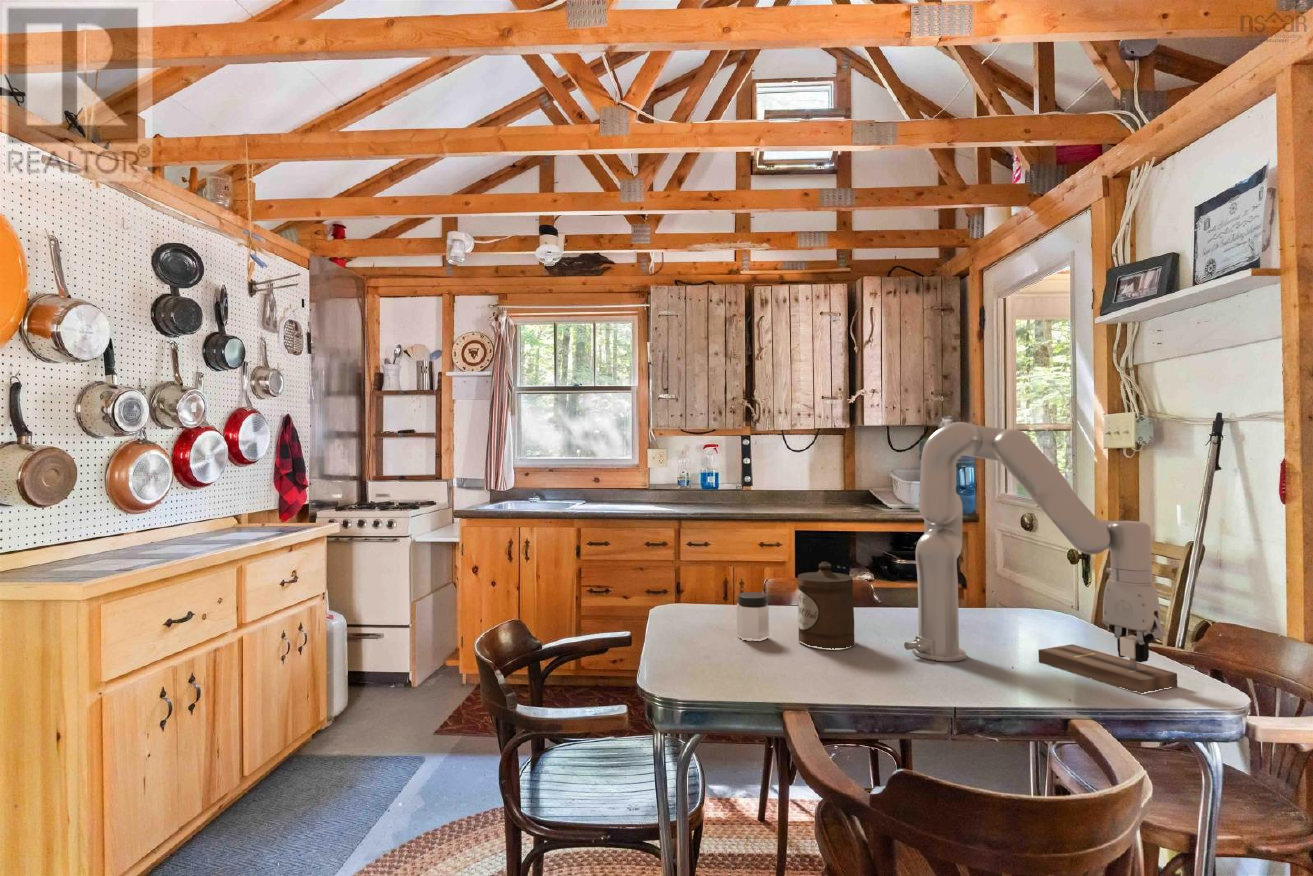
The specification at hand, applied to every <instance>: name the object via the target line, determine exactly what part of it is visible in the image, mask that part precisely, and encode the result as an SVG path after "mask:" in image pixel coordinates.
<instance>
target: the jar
mask: <svg viewBox="0 0 1313 876" xmlns="http://www.w3.org/2000/svg"><path fill="white" fill-rule="evenodd" d="M769 614H770V613H769V605H768V595H767V594H766V593H762V592H755V591H754V592H753V591H752V592H751V591H750V592H747V591H746V592H741V593H738V595H737V603H736V635H737V634H738V635H739V636H741V637H742V638H752V639H761V638H764V637H767V636H769V637H770V631H769V629H770V627H769V626H770V625H769V624H770V623H769V619H770V617H769Z"/></svg>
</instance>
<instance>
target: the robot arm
mask: <svg viewBox="0 0 1313 876" xmlns="http://www.w3.org/2000/svg"><path fill="white" fill-rule="evenodd" d="M961 456H962V457H963V456H964V457H971V458H978V459H982V460H983V459H985V460H989V461H997V462H1000V464H1001V465H1002V466H1003V467H1004V468H1005V469H1006V470H1007V471H1008V472H1009V473H1010V474H1011V476H1012V477H1013V478H1014V479H1015V480H1016V482H1018V483H1019V485H1020V486H1021V487H1022V489H1023V490H1024V491H1025V492H1026V493H1027V495H1029V497H1030V498H1031V499H1032V500H1033V502H1034V503H1035V504H1036V505H1037V506H1038V507H1039V508H1040V509H1041V510H1042V511H1043V512H1044V513H1045V514H1046V516H1047V518H1049V519H1050V521H1051V522H1052V523H1053V524H1054V525H1055V526H1056V527H1057V529H1058V530H1059V531H1060V532H1061V533H1062V534H1063V535H1064V537H1065V538H1066V539H1067V540H1068V542H1069V543H1070V544H1071V545H1072V546H1073V547H1074V548H1075V549H1076V550H1077V551H1079V552H1081V553H1083V554H1085V555H1092V556H1093V555H1099V554H1101V553H1104V552H1106V551H1107V550H1109V552H1110V554H1109V557H1110V566H1109V567H1106V569H1105V572H1106V574H1109V575H1110V579H1107V580H1106V583H1105V588H1104V591H1103V592H1104V593H1103V600H1102V602H1103V603H1102V618H1101V623H1102V624H1103V625H1105V626H1106V627H1107V628H1109V630H1110V631H1111V632H1112V633H1113V636H1114V638H1115V639H1117V640H1116V641H1117V652H1118V657H1120V658H1126V657H1125V656H1122V655H1120V637H1124V636H1129V630H1133V631H1136V636H1137V639H1138V643H1137V644H1136V645H1135V647H1136V661H1137V662H1138V663H1143V662H1148V661H1149V658H1150V657H1149V656H1150V651H1149V650H1150V647H1149V644H1152V642H1154V641H1155V640H1156V639H1158V638H1162V637H1165V636H1166V634H1167V633H1166V632H1165V630H1164V626H1163V625H1162V623H1161V622H1162V621H1161V620H1162V618H1161V606H1160V600H1159V595H1158V591H1157V588H1156V584H1153V569H1152V568H1153V567H1152V563H1153V562H1152V533H1151V532H1152V531H1151V527H1150V526H1151V525H1149V524H1148V523H1146V522H1143V521H1138V520H1106V519H1098V518H1097V517H1096V515H1094V513H1092V511H1091V510H1090V509H1089V508H1088V507H1087V506H1086V505H1085V504H1084V502H1083V501H1082V500H1081V499H1080V497H1078V495H1077V494H1076V492H1074V490H1073V488H1072V486H1071V485H1070V483H1069V482H1068V480H1067V479H1066V478H1065V476H1064V475H1063V474H1062V473H1061V472H1060V470H1058V468H1057V467H1056V466H1055V465H1054V464H1053V463H1052V462H1051V460H1050V459H1049V458H1048V457H1047V456H1046V455H1045V454H1044V453H1043V452H1042V451H1041V450H1040V449H1039V447H1038V446H1037V445H1036V444H1035V442H1033V440H1032V439H1031V438H1030V436H1028V434H1027V433H1025V432H1024V431H1022V430H1020V429H1017V428H1015V429H1014V428H1009V429H1007V428H999V427H990V426H986V425H985V426H984V425H977V424H972V423H968V422H964V421H956V422H951V423H949V424H946V425H944V426H942V427H940V428H938V429H937V430H936V431H935V432H933V433H932V434H931V435H930V436H929V437H928V439H927V440H926V442H925V443H924V446H923V449H922V453H921V458H920V459H921V460H920V479H919V503H918V510H919V513H920V516H921V518H922V519H923V520H924V522H923V523H924V527H923V528H924V531H923V532H924V533H923V534H922V535H921V536H920V538H919V539H918V540H917V543H916V547H915V563H916V564H915V567H916V574H917V577H916V579H917V609H918V610H917V614H918V615H917V616H918V635H915V639H914V640H913V641H911V640H910V641H906V642H904V643H903V647H904V648H905V650H906V651H907V650H912V653H913V655H915V656H917V657H920V658H922V659H925V660H930V659H931V660H930V661H935V660H936V662H937V661H938V662H959V661H964V660H965V659H966V658H967V654H966V653H967V652H966V651H965V650H964V649H962V648H960V634H959V632H960V631H959V630H960V629H959V628H960V627H959V625H960V624H959V619H960V618H959V585H958V584H959V580H958V566H957V565H958V564H957V563H958V558H959V556H960V554H961V553H962V549H963V515H964V513H963V510H964V509H963V503H962V499H961V497H960V495H959V494H958V493H957V462H958V459H959V458H961ZM1151 630H1153V632H1151Z"/></svg>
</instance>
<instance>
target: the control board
mask: <svg viewBox="0 0 1313 876" xmlns="http://www.w3.org/2000/svg"><path fill="white" fill-rule="evenodd" d="M1038 663H1040V664H1043V665H1046V664H1047V666H1050V667H1052V668H1057V669H1059V668H1060V669H1059V670H1062V669H1063V671H1065V670H1066V672H1069V673H1072V674H1075V673H1076V674H1075V675H1078V676H1081V677H1085V678H1088V679H1090V678H1092V679H1091V680H1093V679H1094V681H1097V682H1099V683H1100V682H1101V683H1103V682H1105V683H1104V684H1106V683H1107V684H1106V685H1109V684H1110V686H1112V685H1113V687H1115V686H1116V687H1115V688H1119V687H1122V688H1125V689H1128V690H1131V691H1137V692H1140V693H1144V692H1148V691H1155V690H1159V689H1164V688H1169V687H1176V688H1178V673H1177V672H1174V671H1169V670H1166V669H1162V668H1159V667H1156V666H1151V665H1148V664H1144V663H1142V662H1137V668H1136V669H1135V668H1130V659H1126V658H1124V657H1119V656H1115V655H1112V654H1108V653H1105V652H1102V651H1099V650H1098V651H1097V650H1094V649H1091V648H1086V647H1083V646H1079V645H1076V644H1067V645H1066V644H1065V645H1059V646H1054V647H1047V648H1040V649H1038ZM1122 688H1121V689H1122ZM1125 689H1124V690H1125ZM1128 690H1127V691H1128ZM1131 691H1130V692H1131Z"/></svg>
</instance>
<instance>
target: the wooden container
mask: <svg viewBox="0 0 1313 876" xmlns="http://www.w3.org/2000/svg"><path fill="white" fill-rule="evenodd" d="M818 568H819V570H818V571H815V572H814V571H813V572H811V571H810V572H802V573H799V574H798V575H797V587H798V590H797V592H798V595H797V599H798V600H797V601H798V602H797V605H798V608H797V611H798V615H797V617H798V618H797V621H798V622H797V623H798V624H797V625H798V642H799V641H801V642H803V643H805V644H807V645H810V646H817V647H822V648H831V649H832V648H834V649H835V648H846V647H850V646H853V645H854V646H855V610H854V592H853V591H854V590H853V589H854V583H853V577H852V576H851V575H849V574H847V573H840V572H833V571H832V570H831V569H832V564H831V563H829V562H828V561H821V563H819V564H818ZM854 646H853V647H854Z"/></svg>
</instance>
